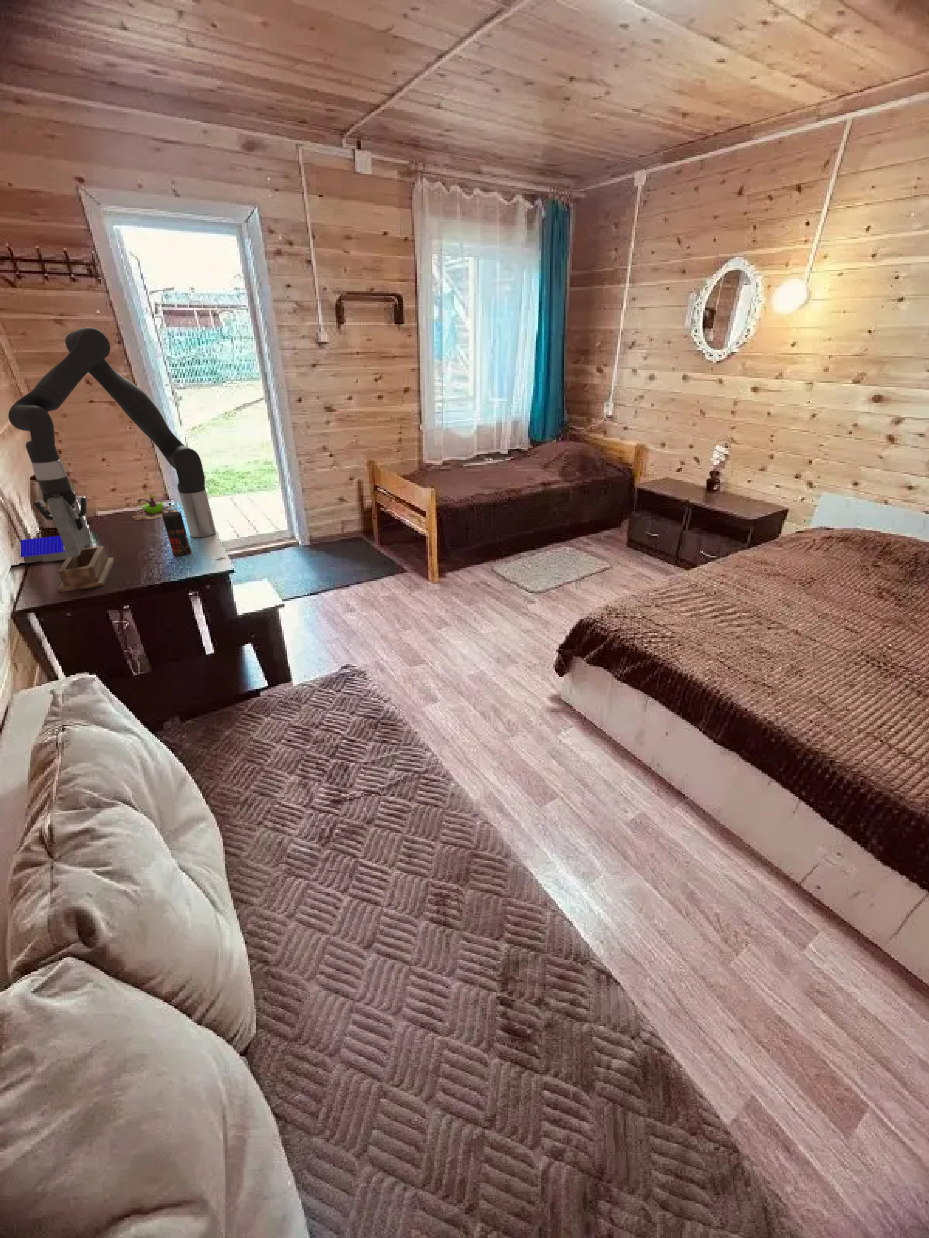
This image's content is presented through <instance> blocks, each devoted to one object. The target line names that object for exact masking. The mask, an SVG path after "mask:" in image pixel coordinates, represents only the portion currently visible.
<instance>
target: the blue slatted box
mask: <svg viewBox="0 0 929 1238" xmlns="http://www.w3.org/2000/svg"><path fill="white" fill-rule="evenodd" d="M20 540H21V557H24V561H25V562H26V564H30V563H37V562H43V563H47V562H54V561H55V562H56V561H65V560H66V559H67V557H68V555H67V553H66V550H65V547H64V545H63V542H62V540H61V537H60V535H56V536H55V535H54V536H46V537H44V536H43V537H37V538H34V537H33V538H30V537H26V539H20Z"/></svg>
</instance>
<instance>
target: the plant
mask: <svg viewBox="0 0 929 1238" xmlns="http://www.w3.org/2000/svg"><path fill="white" fill-rule="evenodd" d="M149 498H150V500H148V499H146V498H140V499H137V501H136V502H137V503H138V504H141V501H144V502H146V503H145V504H143V506H140V505H139V507H140V509H138V510H136V511H135V512H137V511H139V512H137V513H134V514H137V515H135V516H132V518H133V519H132V518H131V519H132V520H134V521H136V520H139V521H153V520H159V519H158V517H162V515H163V514H165V513H169V512H179V509H173V508H174V507H173V506H172V505H171V506H170V505H166V504H165V503H164V501H160V502H158V503H157V502H156V501H155V498H156V497H155V495H154V494H153V493H149ZM163 503H164V504H163ZM163 507H166V509H165V508H163ZM156 517H157V518H156Z"/></svg>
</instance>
